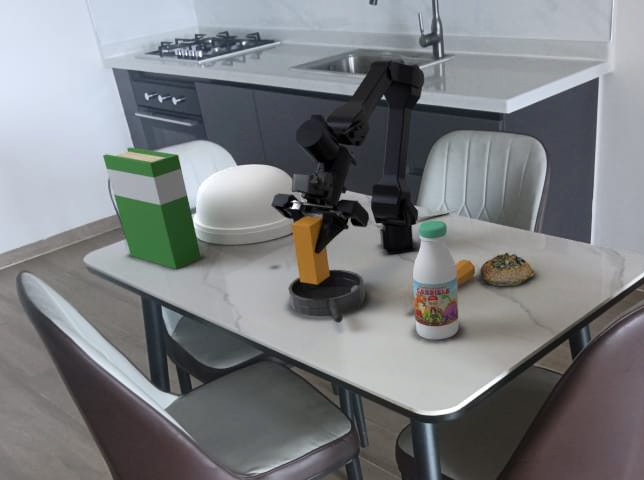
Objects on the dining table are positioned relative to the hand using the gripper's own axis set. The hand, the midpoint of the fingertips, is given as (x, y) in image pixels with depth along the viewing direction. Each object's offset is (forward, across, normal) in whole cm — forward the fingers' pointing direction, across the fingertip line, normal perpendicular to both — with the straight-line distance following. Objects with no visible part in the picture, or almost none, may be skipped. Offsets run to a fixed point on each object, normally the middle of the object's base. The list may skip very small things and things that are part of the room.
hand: (306, 251), depth 138 cm
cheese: (+3, 0, +5) cm, 6 cm away
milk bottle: (+8, +26, +9) cm, 29 cm away
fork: (-28, -4, +46) cm, 54 cm away
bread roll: (-10, +29, +28) cm, 42 cm away
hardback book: (0, -52, +18) cm, 55 cm away
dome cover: (-19, -45, +37) cm, 61 cm away
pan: (+6, 0, +12) cm, 13 cm away
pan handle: (+10, +7, +5) cm, 13 cm away
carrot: (-2, +20, +20) cm, 28 cm away
